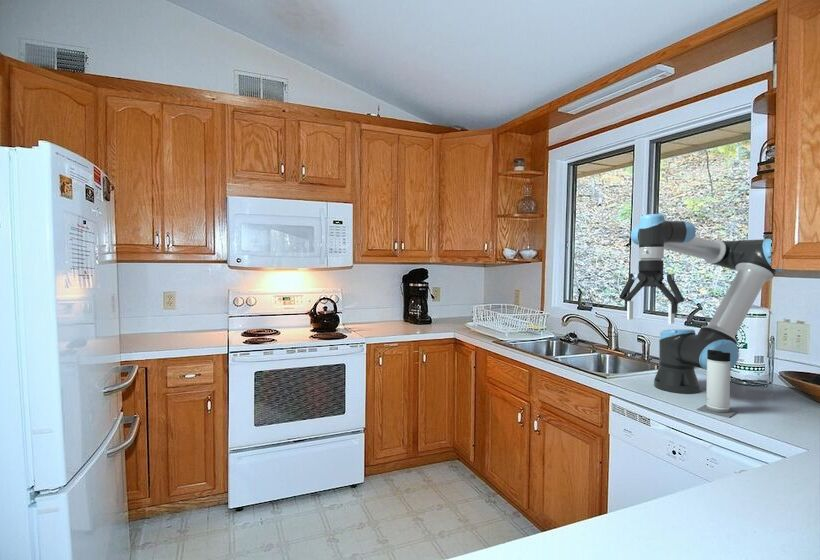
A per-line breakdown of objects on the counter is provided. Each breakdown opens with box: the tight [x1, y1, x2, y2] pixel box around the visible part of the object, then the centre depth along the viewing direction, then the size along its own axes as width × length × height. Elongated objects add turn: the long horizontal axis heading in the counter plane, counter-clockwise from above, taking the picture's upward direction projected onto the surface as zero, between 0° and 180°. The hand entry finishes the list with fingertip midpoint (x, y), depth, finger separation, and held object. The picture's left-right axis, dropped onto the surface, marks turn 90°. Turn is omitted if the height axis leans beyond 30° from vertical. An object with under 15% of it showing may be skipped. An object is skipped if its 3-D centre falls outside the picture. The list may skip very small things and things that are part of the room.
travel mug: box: [705, 350, 731, 413], centre depth 142 cm, size 6×7×20 cm
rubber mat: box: [696, 404, 739, 418], centre depth 142 cm, size 8×9×1 cm
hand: (649, 321), depth 149 cm, fingers open, 13 cm apart
